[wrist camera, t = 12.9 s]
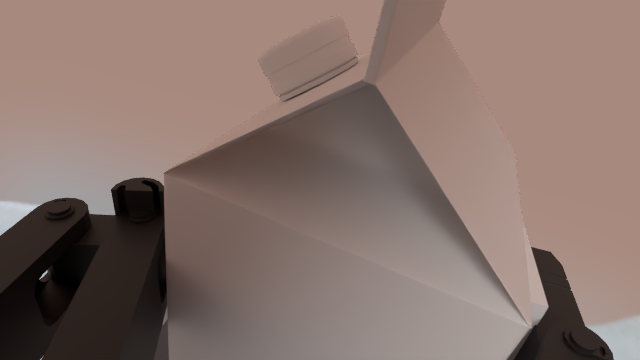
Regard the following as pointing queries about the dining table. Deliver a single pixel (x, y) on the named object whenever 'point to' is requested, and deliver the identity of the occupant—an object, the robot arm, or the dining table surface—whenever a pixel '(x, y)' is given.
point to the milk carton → (352, 210)
